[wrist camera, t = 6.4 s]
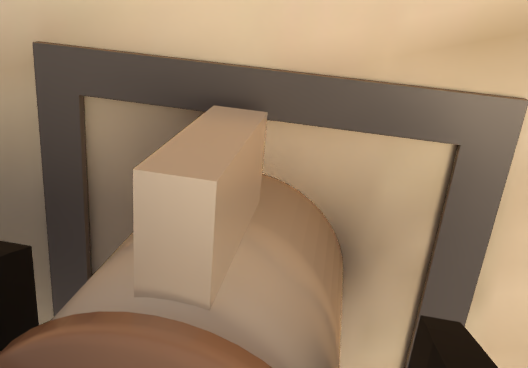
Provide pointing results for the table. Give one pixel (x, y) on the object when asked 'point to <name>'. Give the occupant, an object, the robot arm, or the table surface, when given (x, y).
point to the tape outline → (284, 110)
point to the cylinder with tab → (205, 268)
